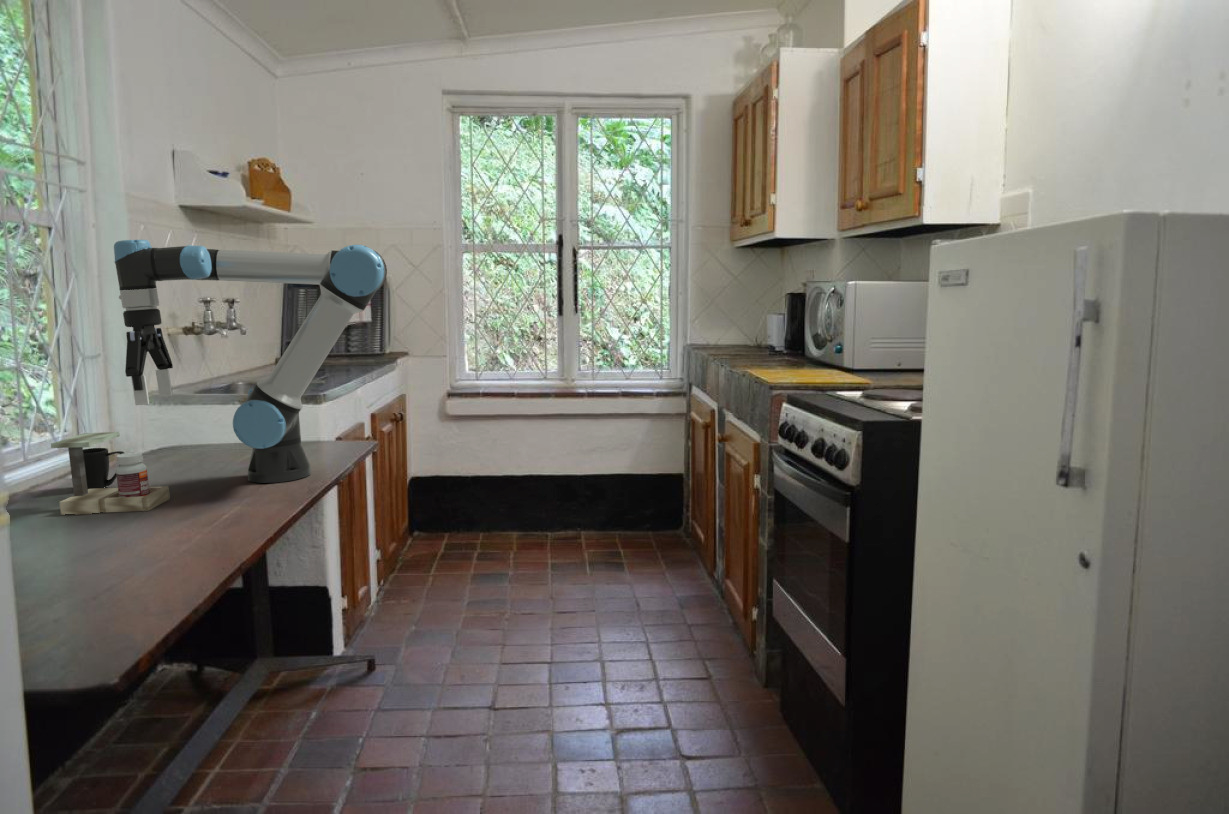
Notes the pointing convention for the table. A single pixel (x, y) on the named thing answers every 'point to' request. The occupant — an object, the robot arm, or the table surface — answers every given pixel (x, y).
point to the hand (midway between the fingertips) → (154, 400)
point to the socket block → (100, 497)
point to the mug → (98, 467)
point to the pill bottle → (132, 475)
